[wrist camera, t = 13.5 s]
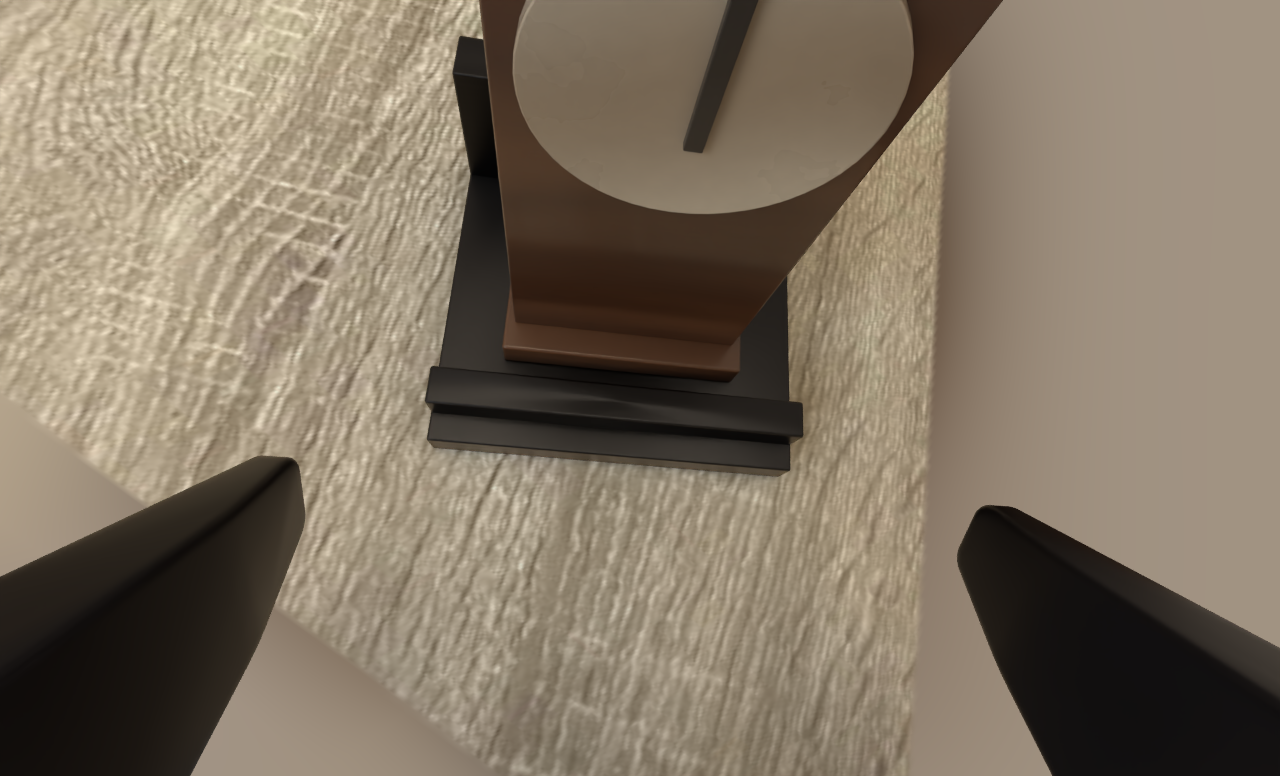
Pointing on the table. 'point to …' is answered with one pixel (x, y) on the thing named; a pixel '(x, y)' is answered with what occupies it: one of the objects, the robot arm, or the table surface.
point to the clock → (688, 158)
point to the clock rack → (585, 397)
